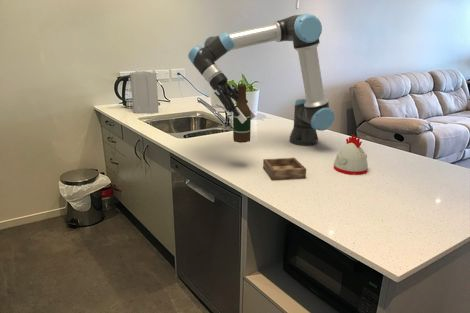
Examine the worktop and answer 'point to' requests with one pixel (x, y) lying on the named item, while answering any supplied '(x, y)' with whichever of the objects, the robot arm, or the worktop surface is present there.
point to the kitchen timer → (351, 158)
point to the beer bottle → (244, 130)
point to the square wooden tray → (284, 168)
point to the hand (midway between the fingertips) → (249, 119)
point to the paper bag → (144, 92)
